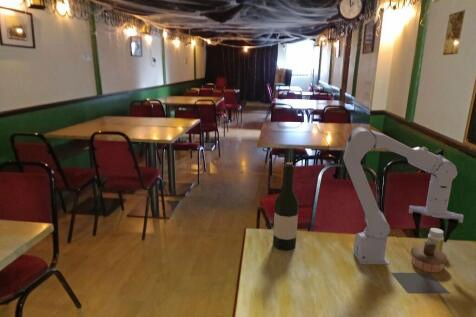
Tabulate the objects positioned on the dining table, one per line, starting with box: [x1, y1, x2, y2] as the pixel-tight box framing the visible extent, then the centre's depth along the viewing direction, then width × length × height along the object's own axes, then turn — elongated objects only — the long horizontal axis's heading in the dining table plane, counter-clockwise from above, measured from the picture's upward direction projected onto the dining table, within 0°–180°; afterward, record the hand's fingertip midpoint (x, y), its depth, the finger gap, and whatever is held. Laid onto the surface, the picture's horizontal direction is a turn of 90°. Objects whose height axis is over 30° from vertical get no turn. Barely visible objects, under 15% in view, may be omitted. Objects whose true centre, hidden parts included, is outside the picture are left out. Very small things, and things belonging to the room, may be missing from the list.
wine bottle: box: [272, 162, 300, 252], centre depth 118 cm, size 8×8×30 cm
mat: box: [391, 272, 451, 294], centre depth 100 cm, size 12×10×1 cm
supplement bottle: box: [426, 227, 445, 252], centre depth 117 cm, size 5×5×8 cm
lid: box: [410, 240, 448, 265], centre depth 108 cm, size 10×10×4 cm
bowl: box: [410, 255, 445, 273], centre depth 110 cm, size 9×9×4 cm
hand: (430, 238), depth 108 cm, fingers open, 7 cm apart
